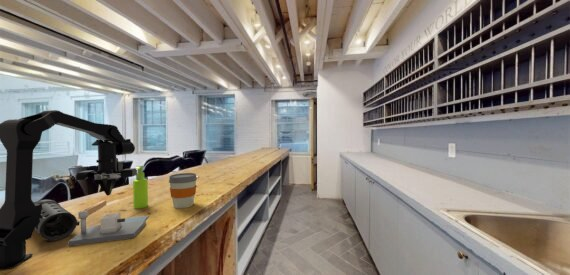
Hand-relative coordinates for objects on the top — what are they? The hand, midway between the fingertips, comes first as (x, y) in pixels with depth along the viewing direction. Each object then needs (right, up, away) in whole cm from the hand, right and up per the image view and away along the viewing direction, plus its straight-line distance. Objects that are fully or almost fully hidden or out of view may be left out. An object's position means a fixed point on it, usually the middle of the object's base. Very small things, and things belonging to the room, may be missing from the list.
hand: (108, 195), depth 88 cm
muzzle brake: (-13, -8, -2) cm, 15 cm away
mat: (+10, -11, +1) cm, 15 cm away
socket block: (+9, -11, -10) cm, 18 cm away
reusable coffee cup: (+20, -11, +21) cm, 31 cm away
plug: (+9, -11, -10) cm, 18 cm away
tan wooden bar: (0, -4, -7) cm, 8 cm away
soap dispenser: (0, -11, +19) cm, 22 cm away
